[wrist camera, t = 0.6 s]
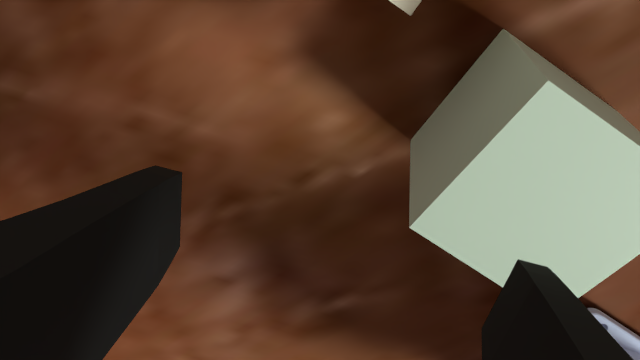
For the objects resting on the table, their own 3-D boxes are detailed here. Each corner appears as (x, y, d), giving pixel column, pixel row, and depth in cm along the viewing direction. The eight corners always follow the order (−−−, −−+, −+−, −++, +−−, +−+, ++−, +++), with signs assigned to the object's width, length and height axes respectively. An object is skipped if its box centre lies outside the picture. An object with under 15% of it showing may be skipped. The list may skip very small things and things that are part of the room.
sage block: (616, 111, 16) (714, 200, 11) (512, 207, 18) (550, 318, 13) (502, 28, 15) (548, 80, 10) (410, 139, 18) (409, 227, 13)
